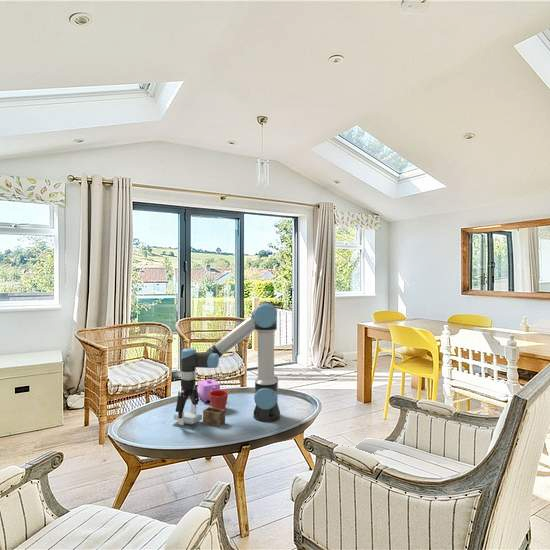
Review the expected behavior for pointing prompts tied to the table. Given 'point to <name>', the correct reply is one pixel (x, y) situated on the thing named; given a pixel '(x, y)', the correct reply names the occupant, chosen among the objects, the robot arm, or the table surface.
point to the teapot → (207, 388)
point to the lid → (189, 417)
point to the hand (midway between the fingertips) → (187, 420)
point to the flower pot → (218, 399)
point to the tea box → (214, 416)
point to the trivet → (187, 425)
